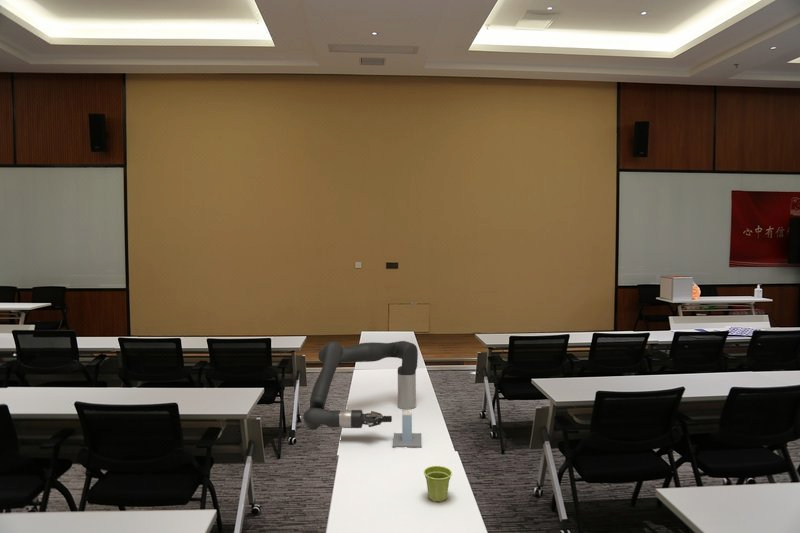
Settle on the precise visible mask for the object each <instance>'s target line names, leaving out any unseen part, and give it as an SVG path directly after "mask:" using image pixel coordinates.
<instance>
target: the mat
mask: <svg viewBox="0 0 800 533" xmlns="http://www.w3.org/2000/svg"><path fill="white" fill-rule="evenodd" d="M392 438H393V439H392V447H407V448H409V449H411V448H413V449H415V448H416V449H419V448H422V446H423V445H422V444H423V442H422V433H421V432H412V441H402V432H393V437H392ZM407 448H406V449H407Z"/></svg>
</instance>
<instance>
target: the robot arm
mask: <svg viewBox="0 0 800 533" xmlns="http://www.w3.org/2000/svg"><path fill="white" fill-rule="evenodd" d="M418 353H419V351H418V347H417V345H416V344H414V343H412V342H411V341H410V342H409V341H406V340H399V341H394V342H375V341H374V342H360V343H355V344H353V345H352V344H351V345H350V346H342V344H341V343H340V342H338V341H336V340H335V341H334V340H333V341H329V342H327V343H326V344H324V345H323V346H322V347H321V348H320V349H319V351H318V353H317V358H318V360H319V361H320V362H321V363H322V364H323V365H322V368H321V370H320V373H319V375H318V376H317V378H316V380H315V383H314V385H313V387H312V390H311V394H310V398H309V408H308V409H305V411H304V413H303V414H302V420H303V422H304V424H305V426H306V427H307V428H308V429H310V430H312V431H313V430H317V429H318V428H320V427H321V425H322V426H323V425H325V426H327V427H328V428H342V429H362V428H363V425H365V426H368V428H372V427H375V426H380V425H382V423H392V420H393V417H392V415H383V414H382V413H380V412H377V411H370V412H367V413H363V410H362V409H343V410H341V409H340V410H339V409H338V410H335V409H334V410H330V409H325V406H326V403H327V399H328V395H329V392H330V388H331V384H332V380H333V379H334V375H335V372H336V370H337V368H338V366H339V364H343V363H370V362H371V363H373V362H378V361H381V360H383V359H386V358H387V359H388V358H396V359H400V360H401V365H400V366H398V368H397V407H398V408H399V409H401V410H413V409H415V408H416V406H417V400H416V399H417V393H416V392H417V387H416V386H417V384H416V383H417V377H416V376H417V374H416V372H417V369H418V368H417V367H418V360H419V359H418V357H419V356H418V355H419V354H418Z"/></svg>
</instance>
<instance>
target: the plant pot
mask: <svg viewBox="0 0 800 533" xmlns="http://www.w3.org/2000/svg"><path fill="white" fill-rule="evenodd" d="M423 475H424V476H425V477H424V478H425V480H426V488H427V493H428V494H427V495H428V499H429V498H430V499H429V500H432V501H433V500H434V501H433V502H436V501H441V502H444V500H447V499H446V498H448V491H449V484H450V479H451V477H452V475H453V472H452V470H451V469H450V468H449V467H446V466H441V465H431V466H428V467H426V468H425V469H424V470H423Z"/></svg>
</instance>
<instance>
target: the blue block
mask: <svg viewBox="0 0 800 533" xmlns="http://www.w3.org/2000/svg"><path fill="white" fill-rule="evenodd" d="M401 411H402V413H401V415H402V416H401V418H402V420H401V421H402V422H401V423H402V424H401V426H402V430H401V431H402V432H401V433H402V441H412V433H413V417H412V416H413V409H401Z"/></svg>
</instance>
